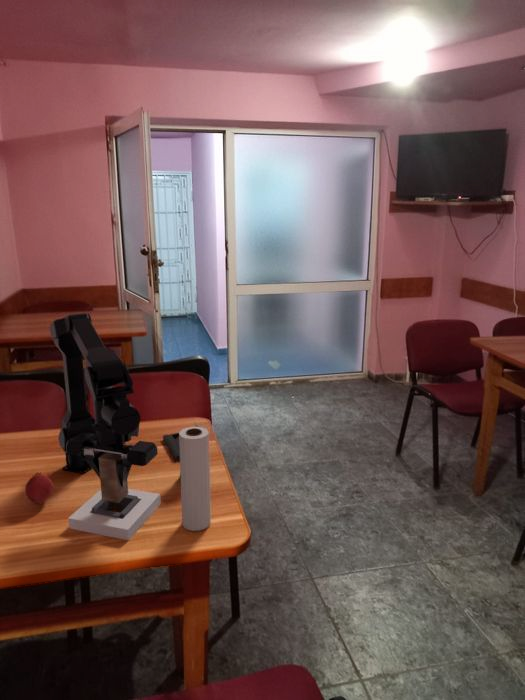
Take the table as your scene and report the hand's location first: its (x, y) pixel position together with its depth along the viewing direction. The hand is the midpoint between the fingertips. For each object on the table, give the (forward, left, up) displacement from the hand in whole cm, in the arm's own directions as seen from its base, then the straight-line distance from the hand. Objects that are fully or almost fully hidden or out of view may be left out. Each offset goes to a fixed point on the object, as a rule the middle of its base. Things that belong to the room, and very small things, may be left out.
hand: (114, 484), depth 111 cm
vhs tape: (0, +35, -8) cm, 36 cm away
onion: (-19, -1, -8) cm, 21 cm away
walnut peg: (0, 0, -3) cm, 3 cm away
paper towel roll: (+18, +3, -8) cm, 20 cm away
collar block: (0, 0, -8) cm, 8 cm away
